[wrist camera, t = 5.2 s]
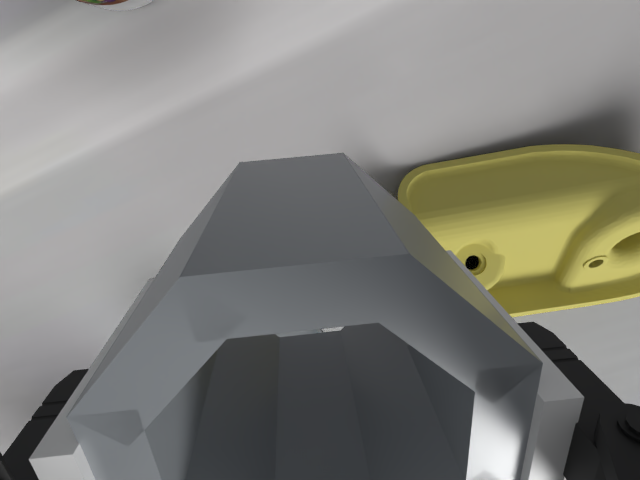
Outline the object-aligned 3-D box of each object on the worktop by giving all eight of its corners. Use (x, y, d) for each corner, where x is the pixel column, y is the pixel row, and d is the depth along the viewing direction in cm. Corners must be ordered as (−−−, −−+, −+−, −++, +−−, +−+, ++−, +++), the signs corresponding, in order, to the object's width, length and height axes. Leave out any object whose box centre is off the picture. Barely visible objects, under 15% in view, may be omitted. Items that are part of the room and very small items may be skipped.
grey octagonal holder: (415, 145, 14) (566, 237, 6) (410, 388, 18) (496, 612, 10) (164, 169, 13) (10, 294, 6) (221, 409, 17) (173, 656, 10)
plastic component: (413, 331, 31) (415, 252, 23) (394, 256, 35) (390, 170, 28) (684, 292, 29) (780, 193, 22) (625, 219, 34) (688, 117, 26)
